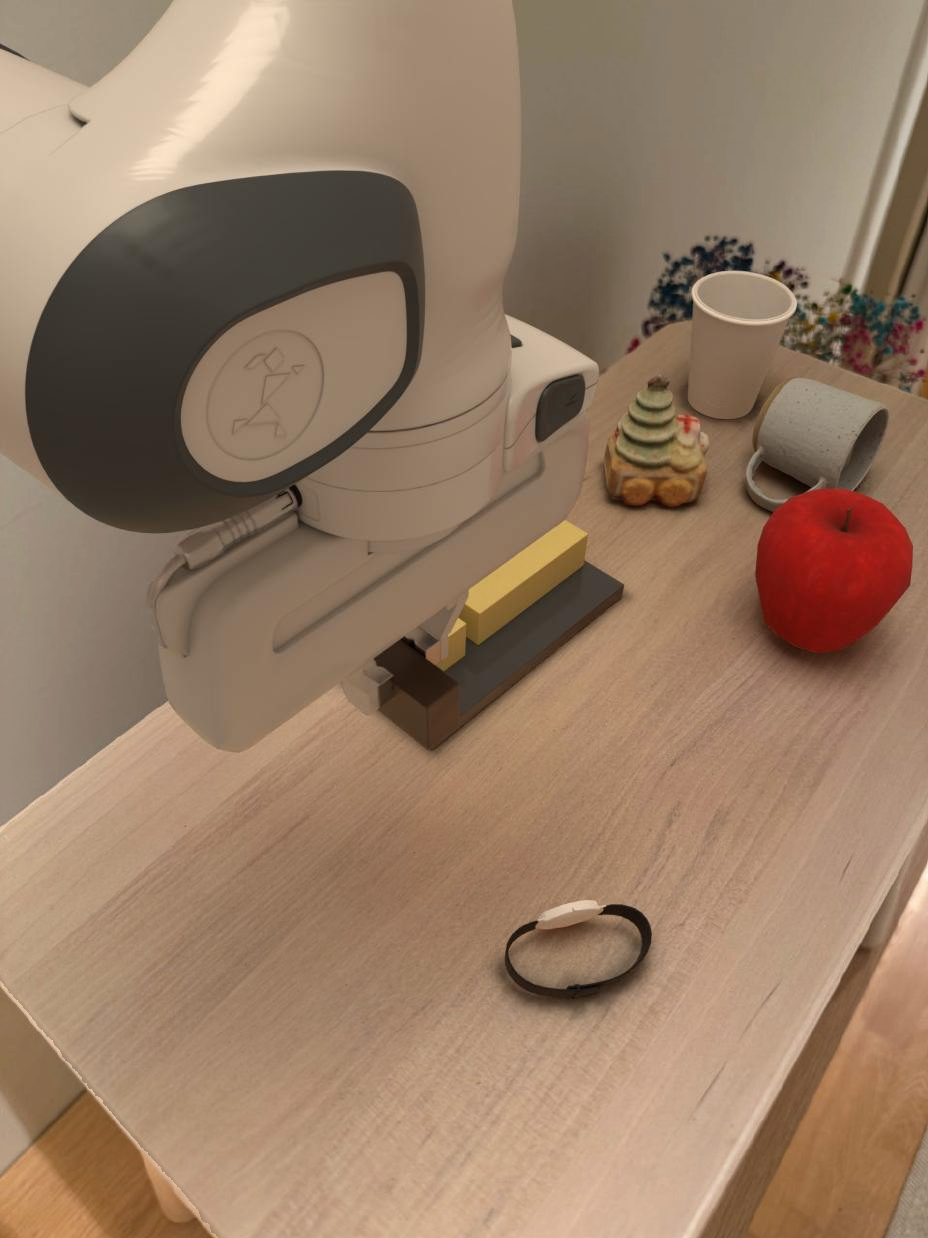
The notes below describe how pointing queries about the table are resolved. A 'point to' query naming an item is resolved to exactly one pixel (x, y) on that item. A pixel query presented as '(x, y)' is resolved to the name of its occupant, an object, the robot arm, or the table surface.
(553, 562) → the butter block
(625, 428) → the ornament
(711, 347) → the dixie cup
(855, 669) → the table surface
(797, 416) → the ceramic mug
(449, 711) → the dark brown boxy part
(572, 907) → the watch
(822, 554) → the apple
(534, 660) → the butter dish
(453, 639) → the butter pat
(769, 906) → the table surface
